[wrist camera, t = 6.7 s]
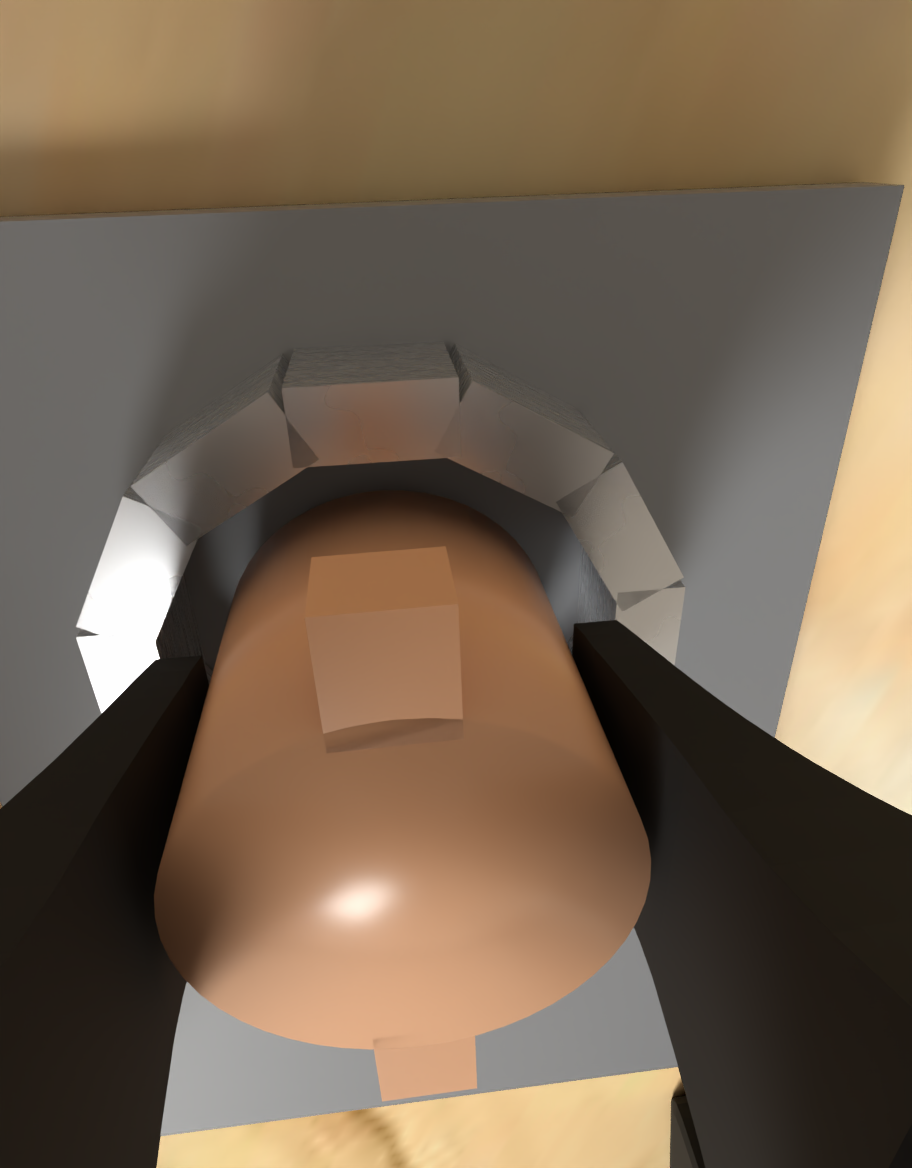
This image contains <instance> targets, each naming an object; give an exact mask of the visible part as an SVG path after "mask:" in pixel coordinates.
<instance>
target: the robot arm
mask: <svg viewBox="0 0 912 1168" xmlns="http://www.w3.org/2000/svg"><path fill="white" fill-rule="evenodd" d="M572 656H573V659H574V661H575V663H576V666H577V668H578V671H579V673H580V675H581V678H582V680H583V682H584V685H585V687H586V690H587V692H588V694H589V697H590V699H591V701H592V704H593V706H594V709H595V711H596V713H597V716H598V718H599V720H600V723H601V725H602V728H603V730H604V732H605V735H606V737H607V739H608V742H609V744H610V747H611V749H612V751H613V754H614V756H615V759H616V761H617V763H618V766H619V768H620V770H621V773H622V775H623V778H624V780H625V782H626V785H627V787H628V789H629V792H630V794H631V797H632V799H633V801H634V804H635V806H636V808H637V811H638V813H639V816H640V818H641V821H642V823H643V826H644V829H645V832H646V835H647V837H648V842H649V849H650V855H651V875H650V884H649V888H648V892H647V897H646V901H645V904H644V906H643V908H642V911H641V913H640V915H639V918H638V920H637V922H636V924H635V926H634V929H635V931H636V934H637V936H638V939H639V941H640V944H641V947H642V949H643V952H644V955H645V958H646V961H647V964H648V966H649V969H650V972H651V975H652V978H653V981H654V985H655V988H656V991H657V995H658V998H659V1002H660V1005H661V1009H662V1012H663V1016H664V1019H665V1022H666V1026H667V1029H668V1033H669V1036H670V1040H671V1043H672V1046H673V1050H674V1053H675V1057H676V1061H677V1064H678V1068H679V1072H680V1075H681V1079H682V1082H683V1086H684V1090H685V1093H686V1097H687V1101H688V1104H689V1108H690V1112H691V1115H692V1119H693V1123H694V1126H695V1130H696V1134H697V1137H698V1141H699V1145H700V1149H701V1153H702V1156H703V1160H704V1164H705V1168H912V815H910V814H908V813H906V812H904V811H901V810H899V809H897V808H895V807H894V806H892V805H890V804H888V803H886V802H884V801H882V800H880V799H878V798H876V797H874V796H872V795H870V794H869V793H867V792H865V791H863V790H861V789H859V788H858V787H856V786H854V785H852V784H851V783H849V782H847V781H845V780H844V779H842V778H840V777H838V776H837V775H835V774H833V773H831V772H830V771H828V770H826V769H824V768H822V767H821V766H819V765H817V764H815V763H814V762H812V761H810V760H809V759H807V758H805V757H804V756H802V755H801V754H799V753H797V752H796V751H794V750H792V749H791V748H789V747H788V746H786V745H785V744H783V743H782V742H780V741H779V740H777V739H776V738H774V737H773V736H771V735H770V734H768V733H767V732H765V731H764V730H762V729H761V728H759V727H758V726H756V725H755V724H753V723H752V722H750V721H749V720H747V719H746V718H744V717H743V716H741V715H740V714H739V713H737V712H736V711H734V710H733V709H732V708H730V707H729V706H727V705H726V704H724V703H723V702H722V701H720V700H719V699H718V698H716V697H715V696H714V695H712V694H711V693H710V692H708V691H707V690H706V689H704V688H703V687H702V686H700V685H699V684H698V683H696V682H695V681H694V680H692V679H691V678H690V677H689V676H687V675H686V674H685V673H683V672H682V671H681V670H680V669H678V668H677V667H676V666H674V665H673V664H672V663H671V662H669V661H668V660H667V659H666V658H664V657H663V656H662V655H661V654H659V653H658V652H657V651H656V650H654V649H653V648H652V647H651V646H649V645H648V644H647V643H646V642H644V641H643V640H642V639H641V638H639V637H638V636H637V635H636V634H634V633H633V632H632V631H631V630H629V629H628V628H627V627H626V626H624V625H623V624H621V623H620V622H619V621H617V620H610V621H598V622H586V623H575V624H574V629H573V647H572ZM208 688H209V682H208V678H207V674H206V670H205V666H204V662H203V657H202V655H201V656H189V657H178V658H166V659H156V660H155V661H154V662H152V663H151V664H150V665H149V666H148V667H147V668H146V669H145V670H144V671H143V672H142V673H141V674H140V675H139V676H138V677H137V678H136V679H135V680H134V681H133V682H132V683H131V684H130V685H129V686H128V687H127V688H126V689H125V690H124V691H123V692H122V693H121V694H120V695H119V696H118V697H117V698H116V699H115V700H114V701H113V702H112V703H111V704H110V706H109V707H108V708H107V709H106V710H105V711H104V712H103V713H102V714H101V715H100V716H99V717H98V718H97V719H96V720H95V721H94V722H93V723H92V724H91V725H90V726H89V727H88V728H87V729H85V730H84V731H83V732H82V733H81V734H80V735H79V736H78V737H77V738H76V739H75V740H74V741H73V742H72V743H71V744H70V745H69V746H68V747H67V748H66V749H65V750H64V751H63V752H62V753H61V754H60V755H59V756H58V757H57V758H56V759H55V760H54V761H53V762H52V763H51V764H50V765H48V766H47V767H46V768H45V769H44V770H43V771H42V772H41V773H40V774H38V775H37V776H36V777H35V778H34V779H33V780H32V781H31V782H30V783H28V784H27V785H26V786H25V787H24V788H23V789H22V790H21V791H20V792H18V793H17V794H16V795H15V796H14V797H13V798H12V799H11V800H10V801H8V802H7V803H6V804H5V805H4V806H3V807H2V808H1V809H0V1168H156V1165H157V1158H158V1150H159V1142H160V1135H161V1127H162V1120H163V1113H164V1106H165V1099H166V1092H167V1086H168V1079H169V1072H170V1065H171V1058H172V1051H173V1045H174V1038H175V1033H176V1028H177V1023H178V1018H179V1013H180V1008H181V1004H182V999H183V995H184V991H185V987H186V983H187V981H186V980H185V979H184V978H183V977H182V975H181V974H180V973H179V971H178V970H177V969H176V967H175V966H174V964H173V963H172V962H171V960H170V959H169V956H168V954H167V952H166V950H165V948H164V946H163V944H162V942H161V940H160V936H159V932H158V928H157V924H156V920H155V908H154V892H155V886H156V880H157V874H158V870H159V866H160V862H161V859H162V855H163V852H164V848H165V844H166V841H167V837H168V833H169V830H170V826H171V822H172V819H173V815H174V811H175V808H176V804H177V801H178V797H179V793H180V790H181V786H182V782H183V779H184V775H185V771H186V768H187V764H188V760H189V757H190V753H191V750H192V746H193V742H194V739H195V735H196V731H197V728H198V724H199V720H200V717H201V713H202V709H203V706H204V702H205V699H206V695H207V691H208Z"/></svg>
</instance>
